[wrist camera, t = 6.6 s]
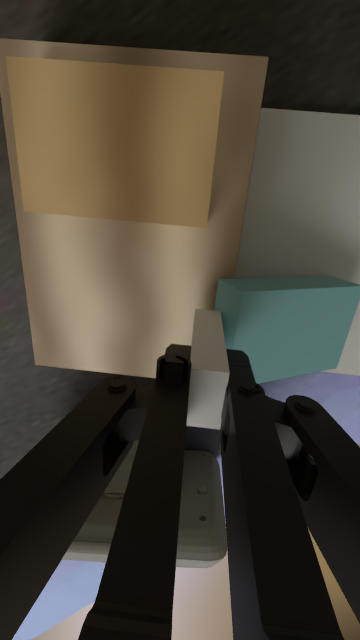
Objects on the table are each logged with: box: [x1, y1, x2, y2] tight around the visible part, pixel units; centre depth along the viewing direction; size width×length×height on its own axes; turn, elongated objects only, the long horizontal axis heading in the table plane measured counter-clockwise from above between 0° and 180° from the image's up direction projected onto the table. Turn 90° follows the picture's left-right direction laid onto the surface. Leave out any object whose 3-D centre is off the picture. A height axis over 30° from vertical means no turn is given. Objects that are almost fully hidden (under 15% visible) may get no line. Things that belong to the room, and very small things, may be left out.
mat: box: [234, 108, 360, 376], centre depth 20 cm, size 12×17×1 cm
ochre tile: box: [5, 56, 224, 228], centre depth 14 cm, size 9×6×2 cm, turn 85°
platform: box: [0, 38, 269, 378], centre depth 19 cm, size 13×18×4 cm
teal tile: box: [214, 276, 360, 384], centre depth 18 cm, size 9×6×2 cm, turn 85°
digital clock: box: [62, 440, 227, 568], centre depth 23 cm, size 16×9×11 cm, turn 81°
